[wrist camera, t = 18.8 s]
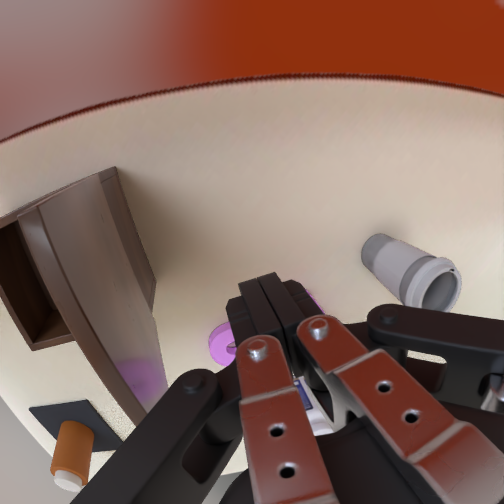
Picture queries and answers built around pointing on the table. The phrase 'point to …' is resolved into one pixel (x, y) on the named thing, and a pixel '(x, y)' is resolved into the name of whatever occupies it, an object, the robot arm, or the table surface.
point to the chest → (31, 282)
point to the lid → (97, 292)
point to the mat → (80, 413)
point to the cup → (412, 273)
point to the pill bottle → (312, 409)
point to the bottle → (72, 456)
